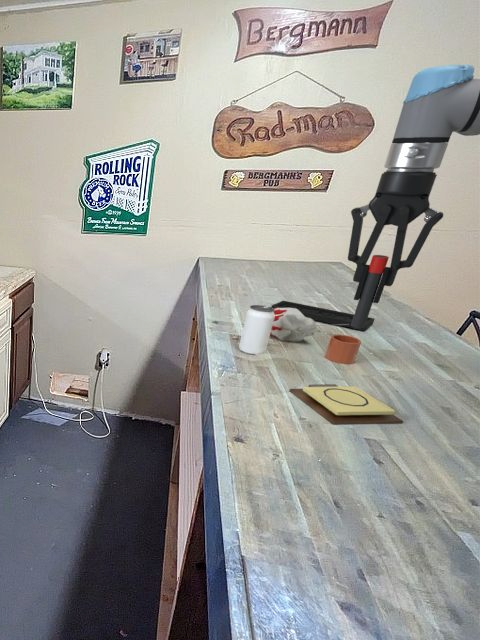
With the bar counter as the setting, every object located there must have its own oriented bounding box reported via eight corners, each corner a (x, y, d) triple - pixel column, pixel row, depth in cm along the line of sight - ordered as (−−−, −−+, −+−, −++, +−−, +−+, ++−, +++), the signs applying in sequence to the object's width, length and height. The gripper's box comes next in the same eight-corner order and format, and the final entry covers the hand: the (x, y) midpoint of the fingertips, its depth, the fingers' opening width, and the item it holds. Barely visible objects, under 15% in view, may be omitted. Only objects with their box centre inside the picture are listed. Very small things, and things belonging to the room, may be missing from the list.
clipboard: (402, 423, 89) (405, 416, 89) (333, 424, 89) (335, 417, 88) (350, 390, 102) (352, 383, 102) (289, 391, 102) (291, 384, 101)
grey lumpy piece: (314, 345, 125) (252, 345, 130) (303, 331, 135) (246, 331, 140) (318, 314, 122) (255, 314, 127) (307, 302, 131) (249, 303, 137)
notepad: (394, 414, 90) (395, 410, 90) (336, 415, 90) (338, 411, 89) (354, 389, 100) (355, 385, 99) (302, 390, 99) (303, 386, 99)
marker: (367, 329, 91) (392, 256, 85) (358, 331, 90) (383, 258, 84) (354, 325, 93) (378, 254, 87) (346, 327, 92) (369, 255, 86)
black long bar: (379, 314, 146) (356, 332, 128) (376, 322, 148) (353, 342, 129) (289, 297, 164) (257, 311, 145) (287, 305, 165) (255, 319, 147)
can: (233, 348, 124) (242, 306, 119) (248, 344, 127) (258, 303, 122) (254, 357, 119) (265, 313, 114) (270, 352, 122) (282, 309, 117)
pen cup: (359, 365, 114) (367, 343, 112) (335, 365, 114) (342, 343, 112) (342, 355, 120) (349, 334, 118) (318, 356, 120) (325, 334, 117)
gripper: (353, 170, 82) (316, 296, 92) (470, 171, 73) (416, 312, 82) (359, 169, 87) (323, 289, 97) (469, 170, 78) (418, 303, 87)
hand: (366, 299), depth 90 cm, fingers closed on marker, 2 cm apart
